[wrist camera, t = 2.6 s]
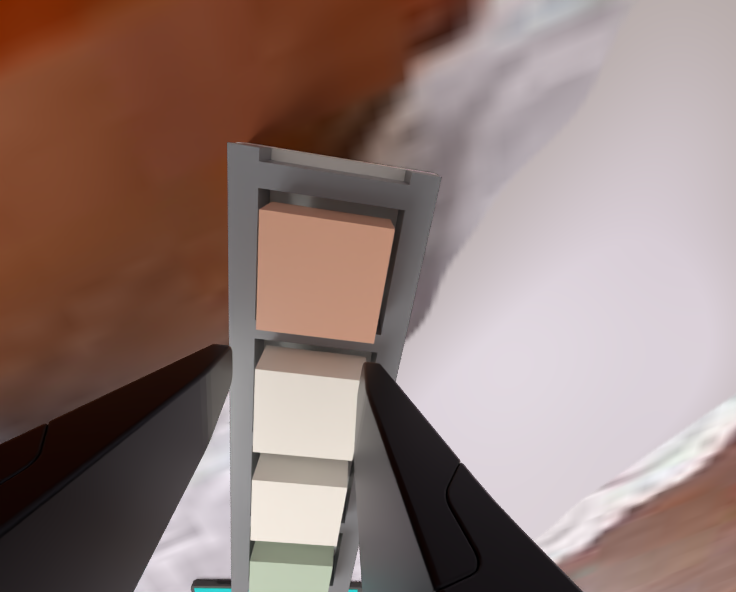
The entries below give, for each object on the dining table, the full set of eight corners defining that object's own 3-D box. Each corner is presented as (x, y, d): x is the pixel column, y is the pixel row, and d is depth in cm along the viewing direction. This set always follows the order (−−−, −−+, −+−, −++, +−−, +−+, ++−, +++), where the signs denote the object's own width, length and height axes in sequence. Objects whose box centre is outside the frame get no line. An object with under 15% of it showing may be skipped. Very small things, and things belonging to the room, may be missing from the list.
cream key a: (352, 431, 19) (352, 461, 17) (263, 422, 19) (252, 451, 17) (366, 356, 17) (366, 381, 15) (266, 345, 17) (254, 369, 15)
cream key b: (338, 512, 22) (336, 546, 20) (259, 506, 22) (250, 540, 20) (348, 456, 20) (347, 488, 18) (262, 448, 20) (251, 479, 18)
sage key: (327, 576, 25) (324, 611, 23) (256, 572, 24) (248, 607, 22) (334, 532, 23) (332, 566, 21) (258, 527, 22) (249, 561, 20)
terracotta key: (372, 322, 16) (373, 343, 15) (267, 309, 16) (255, 329, 14) (390, 219, 15) (395, 229, 13) (272, 201, 14) (258, 209, 12)
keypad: (351, 548, 29) (350, 598, 25) (242, 540, 28) (227, 591, 25) (431, 172, 17) (448, 178, 14) (247, 142, 16) (219, 140, 13)
